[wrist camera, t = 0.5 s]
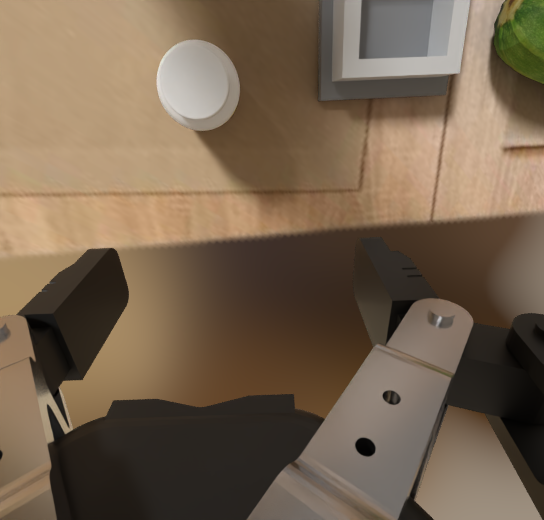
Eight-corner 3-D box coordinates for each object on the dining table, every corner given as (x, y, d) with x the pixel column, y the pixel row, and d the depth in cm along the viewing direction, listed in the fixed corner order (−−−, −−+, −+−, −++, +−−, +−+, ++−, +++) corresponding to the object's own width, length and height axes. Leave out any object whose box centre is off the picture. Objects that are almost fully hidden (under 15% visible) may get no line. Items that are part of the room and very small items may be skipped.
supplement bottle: (251, 86, 29) (259, 74, 20) (215, 141, 31) (208, 152, 22) (195, 40, 27) (177, 4, 18) (160, 100, 29) (127, 94, 20)
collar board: (319, -80, 25) (333, -112, 22) (462, -81, 26) (500, -112, 23) (318, 101, 30) (330, 99, 26) (439, 95, 31) (467, 92, 27)
